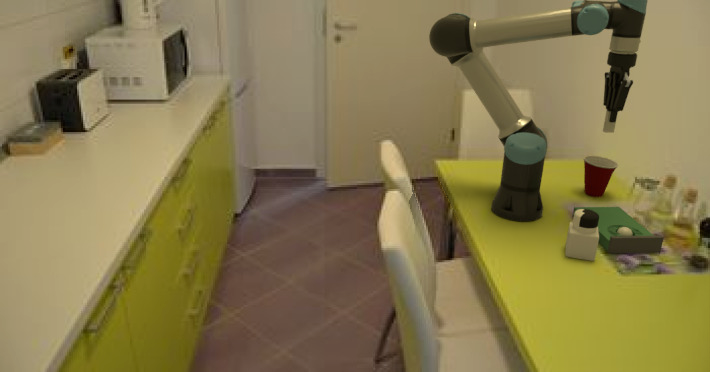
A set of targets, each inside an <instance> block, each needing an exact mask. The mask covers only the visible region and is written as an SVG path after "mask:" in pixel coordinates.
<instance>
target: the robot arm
mask: <svg viewBox="0 0 710 372" xmlns="http://www.w3.org/2000/svg"><path fill="white" fill-rule="evenodd" d="M647 5H648V0H617V1H604V0H603V1H602V0H574V1H572V3H571V7H562V8H556V9H550V10H549V9H548V10H543V11H535V12H528V13H521V14H514V15H507V16H500V17H493V18H486V19H480V20H479V19H478V20H476V19H475V18H474V17H469V16H468V15H466V14H464V13H460V12H454V13H449V14H448V15H446V16H444V17H441V18H440V19H437V21H436V22H435V23H434V24H433V25H432V26H431V29H430V31H429V35H428V36H429V37H428V40H429V44H430V46H431V48H432V49H433V51H434V52H435V53H436V54H437V55H439V56H441V57H446V58H447V61H448V62H449V63H450V64H451V66H454V67H457V68H459V70H460V71H461V72H462V74H463V76H464V78H465V79H466V81H467V82H468V84H469V85H470V87H471V88H472V90H473V91H474V93H475V95H476V96H477V97H478V99H479V101H480V102H481V104H482V105H483V107H484V108H485V110H486V111H487V113H488V115H489V117H490V118H491V119H492V121H493V123H494V124H495V126H496V127H497V129H498V130H499V132H498V136H497V138H498V139H499V141H500V142H501V144H502V146H503V151H504V153H503V160H502V168H501V177H500V184H499V187H498V188H497V191H496V192H495V195H494V197H493V199H492V203H491V208H490V209H491V211H492V212H493V213H494V214H495V215H496V216H498V217H500V218H502V219H506V220H510V221H514V222H532V221H537V220H539V219H541V218H542V216H543V211H544V206H543V205H544V204H543V200H542V195H541V186H542V185H541V184H542V180H543V179H542V178H543V172H544V166H545V159H546V155H547V150H548V140H547V136H546V134H545V132H544V131H543V130H542V129H541V128H539V126H537V124H536V123H535V122H534V121H533V119H532V117H531V116H526V115H524V114H523V112H522V111H521V109H520V108H519V106H518V104H517V102H516V101H515V100H514V98H513V97H512V95H511V93H510V92H509V90H508V89H507V87H506V86H505V84H504V83H503V80H502V79H501V78H500V76H499V75H498V73H497V71H496V70H495V69H494V66H493V65H492V63H491V62H490V60H489V59H488V57H487V55H486V54H485V53H484V48H489V47H490V48H491V47H496V46H505V45H511V44H512V45H514V44H518V43H520V44H521V43H527V42H536V41H543V40H549V39H558V38H564V37H574V36H575V37H576V36H583V35H585V36H586V35H587V36H595V35H597V34H601V32H603V31H604V30H612V33H611V36H610V42H609V48H608V49H609V50H610V51H609V52H608V55H607V61H606V64H607V65H608V66H610V68H609V71H608V72H605V73H604V89H603V90H604V91H603V106H605V109H606V112H605V117H604V121H603V122H604V123H603V128H602V132H603V133H608V134H609V133H614V132H615V129H616V123H617V118H618V113H619V112H620V111H621V112H623V111H624V108H625V104H626V102H627V99H628V95H629V92H630V90H631V88H632V86H633V84H634V80H633V79H630V78H629V77H630V76H631V75H630V70H631V68H634V67H635V66H636V64H637V58H638V53H637V52H639V48H640V43H641V37H642V33H643V28H644V23H645V19H646V14H647Z"/></svg>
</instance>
